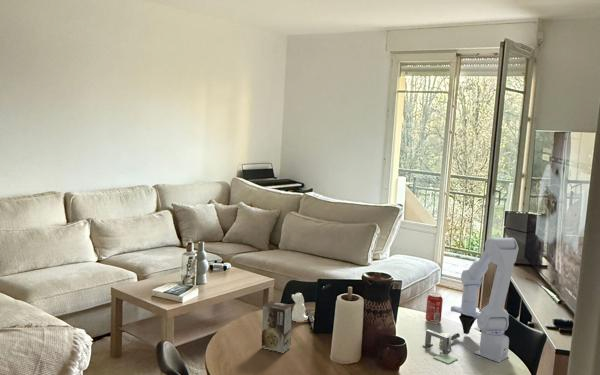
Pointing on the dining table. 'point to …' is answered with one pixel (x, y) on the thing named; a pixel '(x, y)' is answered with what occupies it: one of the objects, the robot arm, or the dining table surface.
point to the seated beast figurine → (298, 308)
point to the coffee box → (276, 326)
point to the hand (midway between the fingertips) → (466, 333)
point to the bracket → (440, 336)
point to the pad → (445, 358)
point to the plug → (449, 338)
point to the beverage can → (434, 308)
